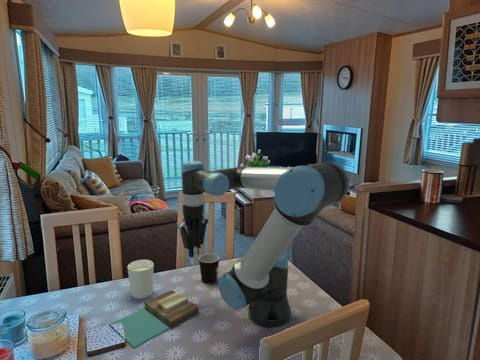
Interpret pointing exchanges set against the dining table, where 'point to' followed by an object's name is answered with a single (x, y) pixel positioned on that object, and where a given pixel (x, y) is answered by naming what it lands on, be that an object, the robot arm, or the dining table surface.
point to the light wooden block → (171, 302)
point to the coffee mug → (209, 267)
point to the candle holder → (141, 278)
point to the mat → (141, 327)
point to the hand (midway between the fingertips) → (193, 263)
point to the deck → (173, 315)
